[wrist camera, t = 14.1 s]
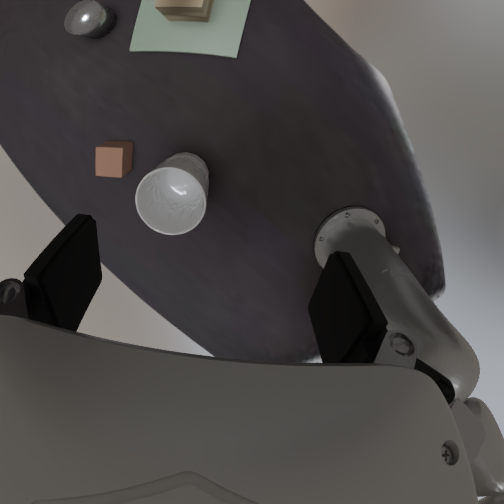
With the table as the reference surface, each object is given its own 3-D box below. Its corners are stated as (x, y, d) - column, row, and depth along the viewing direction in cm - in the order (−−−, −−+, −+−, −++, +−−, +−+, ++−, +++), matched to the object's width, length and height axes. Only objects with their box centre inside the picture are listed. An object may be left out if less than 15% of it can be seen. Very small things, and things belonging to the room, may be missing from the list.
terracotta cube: (133, 141, 33) (122, 148, 30) (131, 168, 35) (121, 177, 32) (108, 140, 33) (95, 146, 29) (107, 167, 35) (95, 175, 32)
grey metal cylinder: (120, 6, 22) (102, -4, 17) (112, 37, 24) (93, 30, 19) (90, 11, 21) (69, 3, 16) (83, 40, 24) (60, 36, 19)
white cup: (173, 137, 34) (153, 154, 25) (224, 165, 36) (220, 190, 28) (149, 185, 37) (125, 215, 29) (196, 210, 40) (185, 246, 31)
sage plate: (258, -26, 21) (259, -29, 20) (236, 58, 28) (236, 57, 27) (155, -32, 19) (153, -34, 18) (132, 52, 26) (129, 51, 25)
